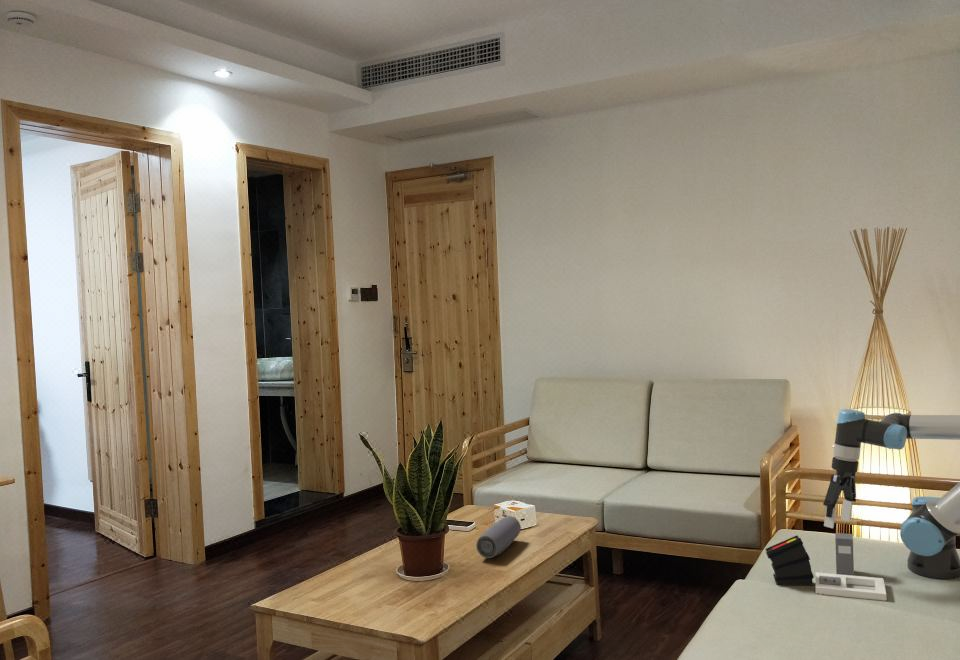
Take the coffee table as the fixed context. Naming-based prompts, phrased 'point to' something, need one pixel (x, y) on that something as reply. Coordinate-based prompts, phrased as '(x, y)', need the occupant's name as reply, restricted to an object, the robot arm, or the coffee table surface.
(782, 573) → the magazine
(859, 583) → the white flat rectangular frame
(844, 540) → the grey tall block
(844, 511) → the robot arm
